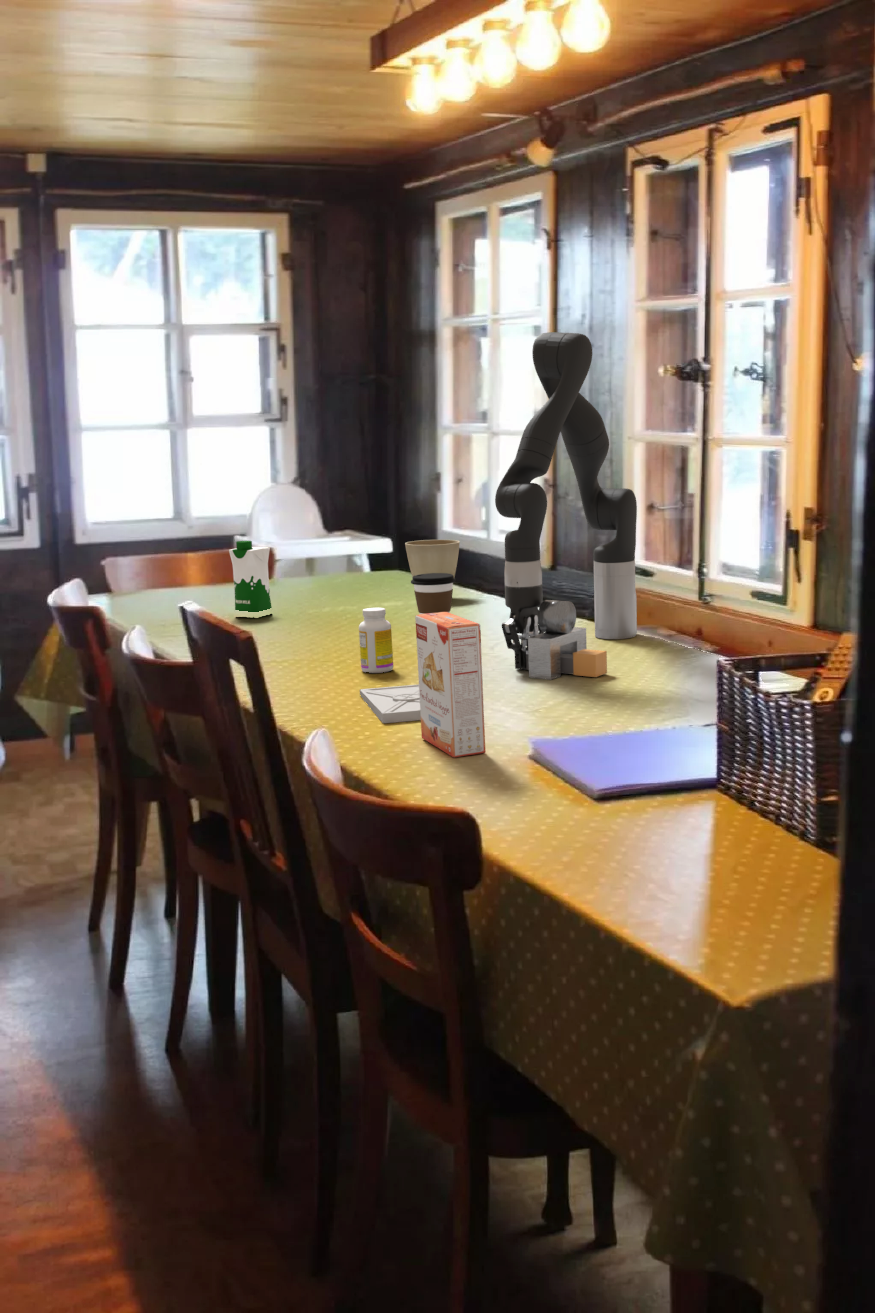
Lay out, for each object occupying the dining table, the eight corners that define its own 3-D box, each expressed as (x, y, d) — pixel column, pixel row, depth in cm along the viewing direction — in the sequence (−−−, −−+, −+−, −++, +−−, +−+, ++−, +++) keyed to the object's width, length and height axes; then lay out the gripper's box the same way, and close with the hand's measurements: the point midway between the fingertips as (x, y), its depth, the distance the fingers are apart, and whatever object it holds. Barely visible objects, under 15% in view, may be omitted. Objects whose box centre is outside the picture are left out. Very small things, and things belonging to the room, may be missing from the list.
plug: (513, 669, 281) (512, 647, 280) (525, 665, 284) (524, 644, 283) (595, 677, 269) (595, 654, 269) (607, 672, 273) (606, 650, 272)
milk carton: (230, 618, 364) (224, 541, 360) (252, 612, 371) (247, 538, 368) (256, 619, 359) (251, 542, 355) (278, 614, 367) (273, 538, 363)
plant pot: (462, 602, 373) (459, 543, 370) (406, 605, 374) (404, 546, 371) (461, 594, 388) (459, 538, 385) (408, 596, 388) (406, 540, 385)
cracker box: (419, 739, 228) (413, 613, 224) (453, 735, 230) (448, 610, 226) (451, 759, 215) (445, 625, 211) (486, 754, 217) (482, 622, 213)
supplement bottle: (398, 667, 288) (395, 606, 286) (386, 674, 282) (383, 611, 280) (368, 667, 290) (365, 606, 288) (356, 673, 284) (352, 611, 282)
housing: (565, 664, 284) (563, 595, 281) (586, 666, 281) (585, 596, 278) (529, 677, 273) (527, 605, 270) (550, 679, 270) (549, 606, 267)
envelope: (430, 693, 266) (360, 699, 263) (430, 682, 266) (359, 688, 263) (460, 717, 243) (383, 724, 240) (459, 705, 242) (382, 712, 239)
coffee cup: (405, 627, 338) (403, 578, 336) (423, 620, 348) (420, 572, 346) (447, 628, 334) (445, 578, 332) (463, 621, 344) (461, 572, 341)
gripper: (520, 588, 270) (522, 675, 274) (557, 578, 282) (559, 662, 285) (488, 586, 275) (491, 672, 278) (526, 577, 286) (528, 659, 289)
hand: (525, 666), depth 281 cm, fingers closed on plug, 3 cm apart
